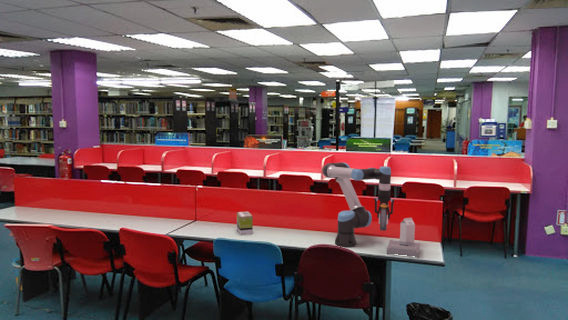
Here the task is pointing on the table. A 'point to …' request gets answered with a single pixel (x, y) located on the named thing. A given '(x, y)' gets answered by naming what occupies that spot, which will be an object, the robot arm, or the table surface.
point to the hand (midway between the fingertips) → (383, 223)
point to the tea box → (244, 223)
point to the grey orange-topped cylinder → (383, 217)
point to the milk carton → (407, 230)
